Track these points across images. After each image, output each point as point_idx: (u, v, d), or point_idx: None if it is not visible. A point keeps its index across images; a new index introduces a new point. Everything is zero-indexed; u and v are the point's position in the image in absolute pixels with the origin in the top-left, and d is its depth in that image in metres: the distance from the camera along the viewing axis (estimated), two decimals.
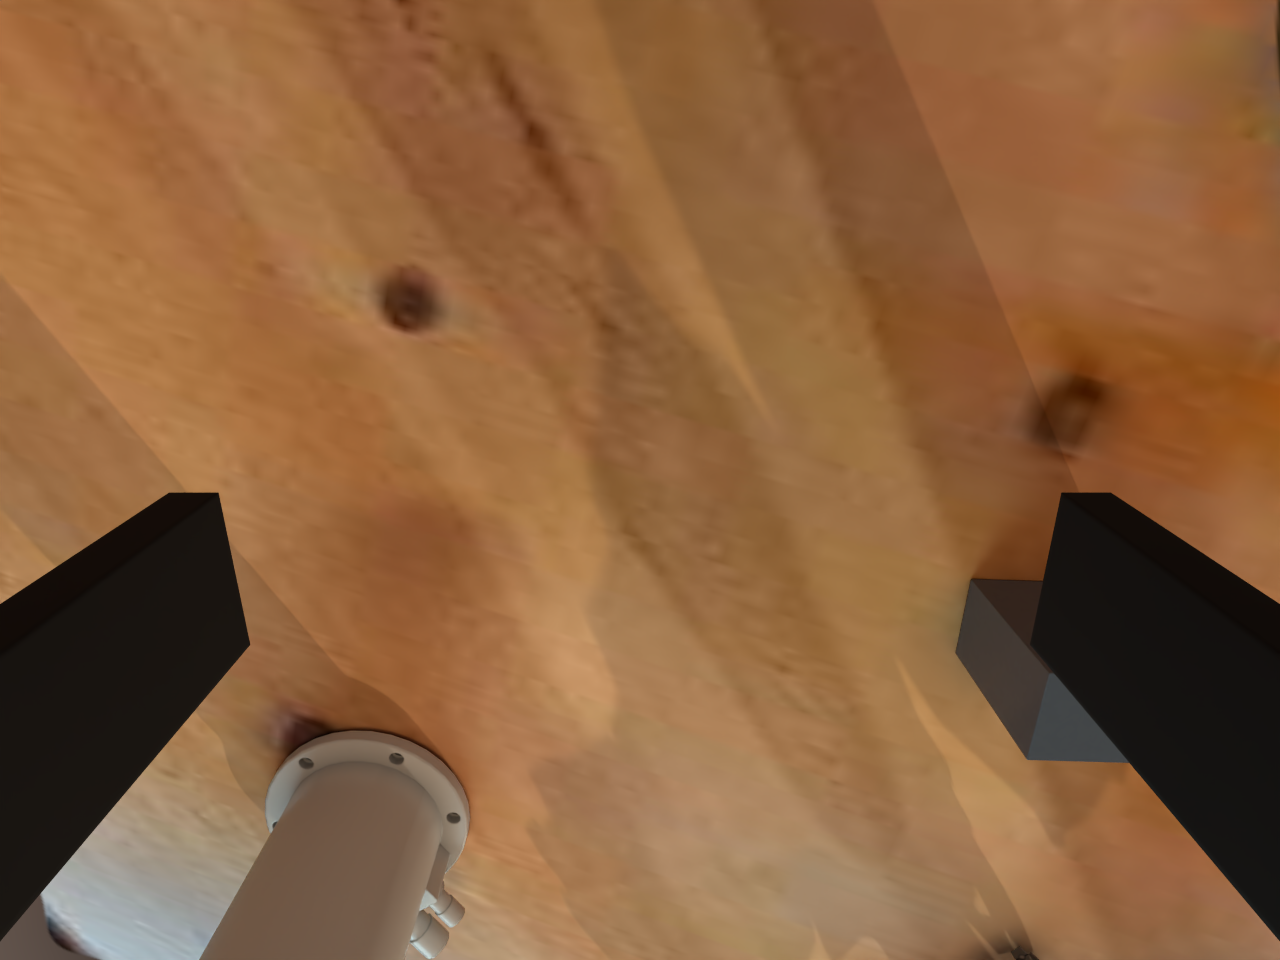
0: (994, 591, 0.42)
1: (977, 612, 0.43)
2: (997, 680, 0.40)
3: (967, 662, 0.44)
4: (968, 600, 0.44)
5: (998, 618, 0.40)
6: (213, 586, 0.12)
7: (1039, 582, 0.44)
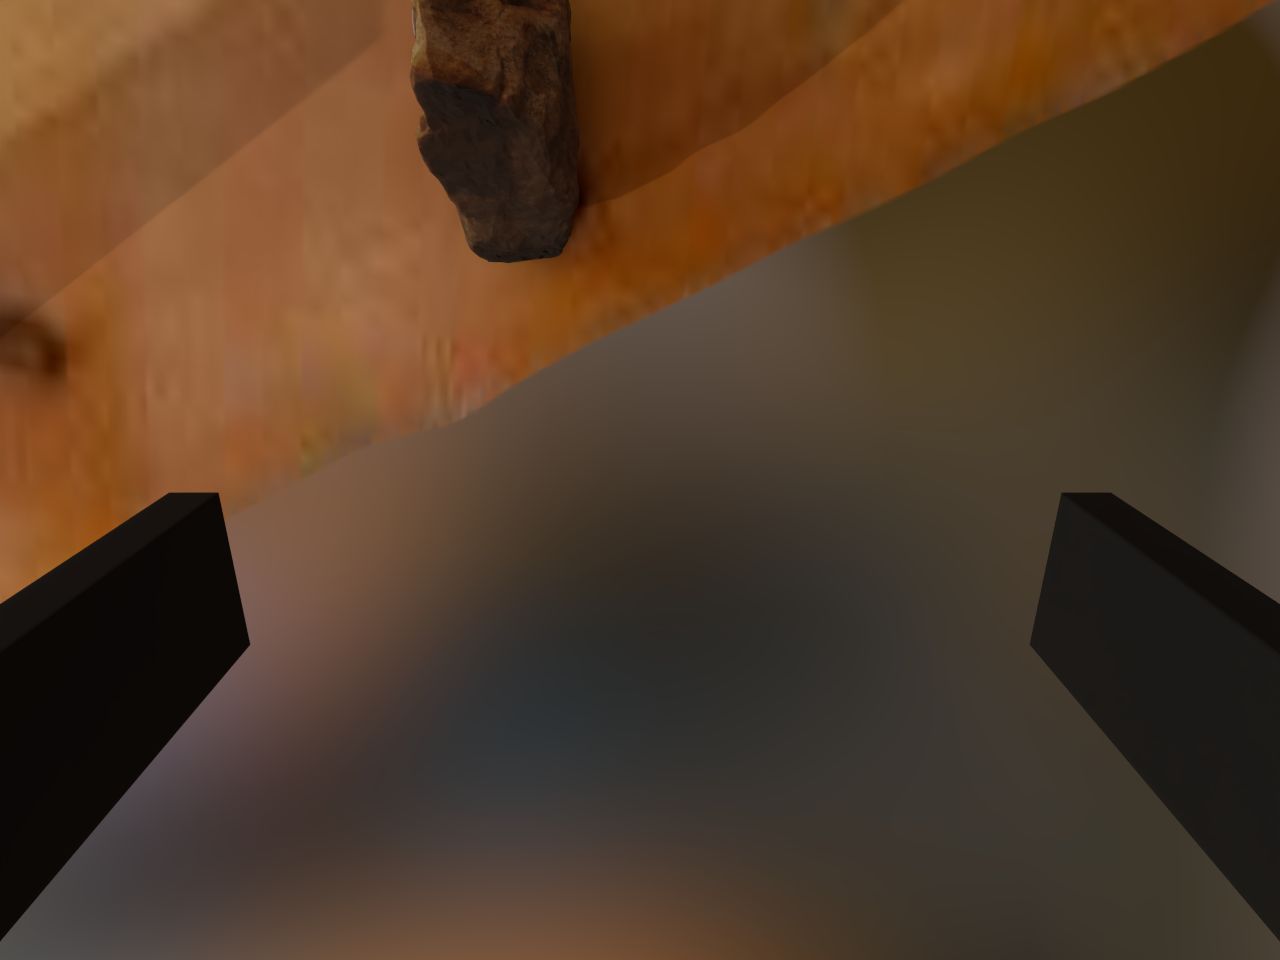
0: None
1: None
2: None
3: None
4: None
5: None
6: (213, 586, 0.12)
7: None
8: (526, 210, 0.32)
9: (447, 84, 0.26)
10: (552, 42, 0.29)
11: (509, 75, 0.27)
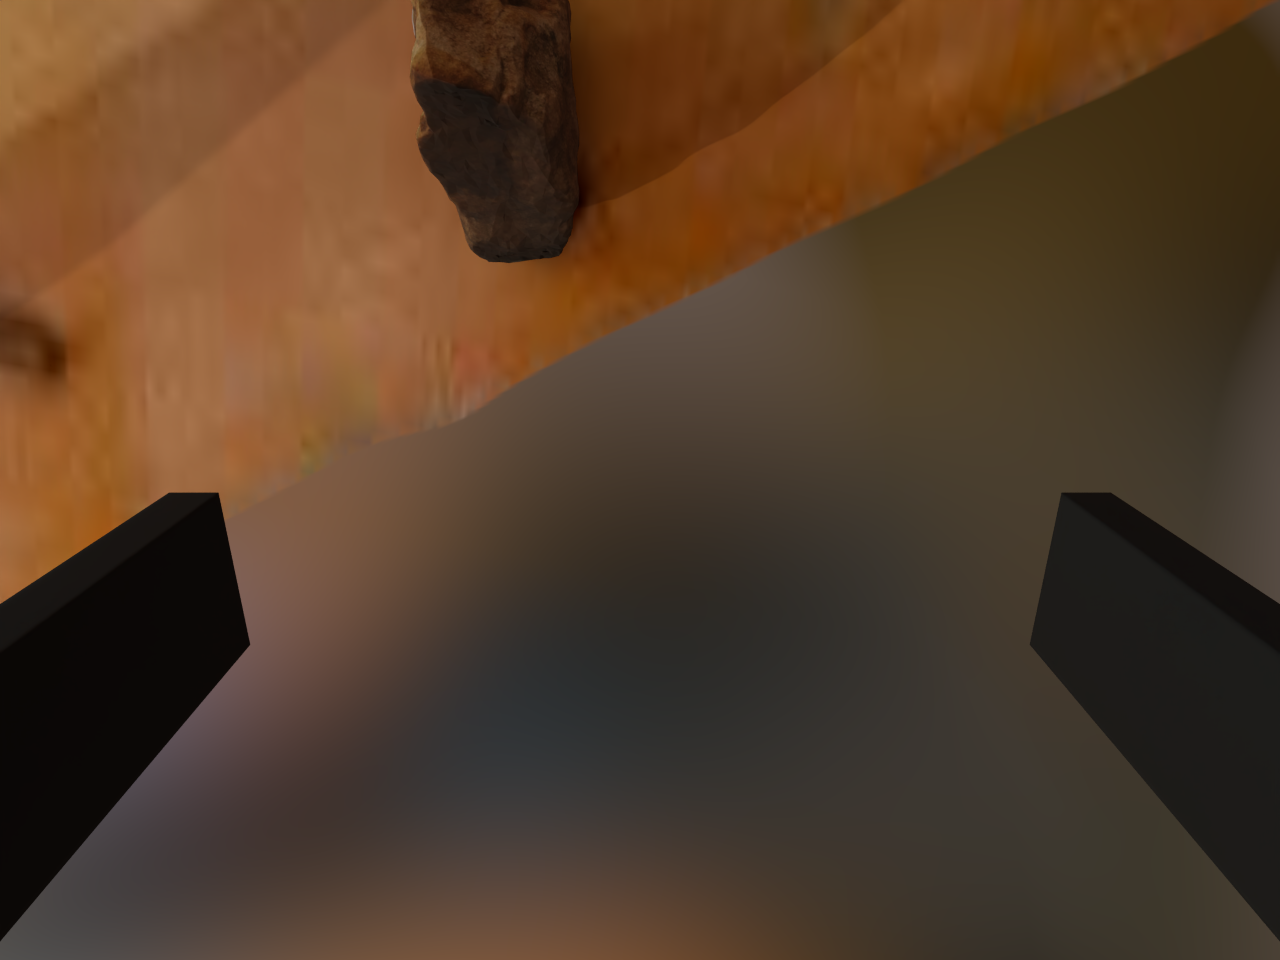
0: None
1: None
2: None
3: None
4: None
5: None
6: (213, 586, 0.12)
7: None
8: (526, 210, 0.32)
9: (447, 84, 0.26)
10: (552, 42, 0.29)
11: (509, 75, 0.27)
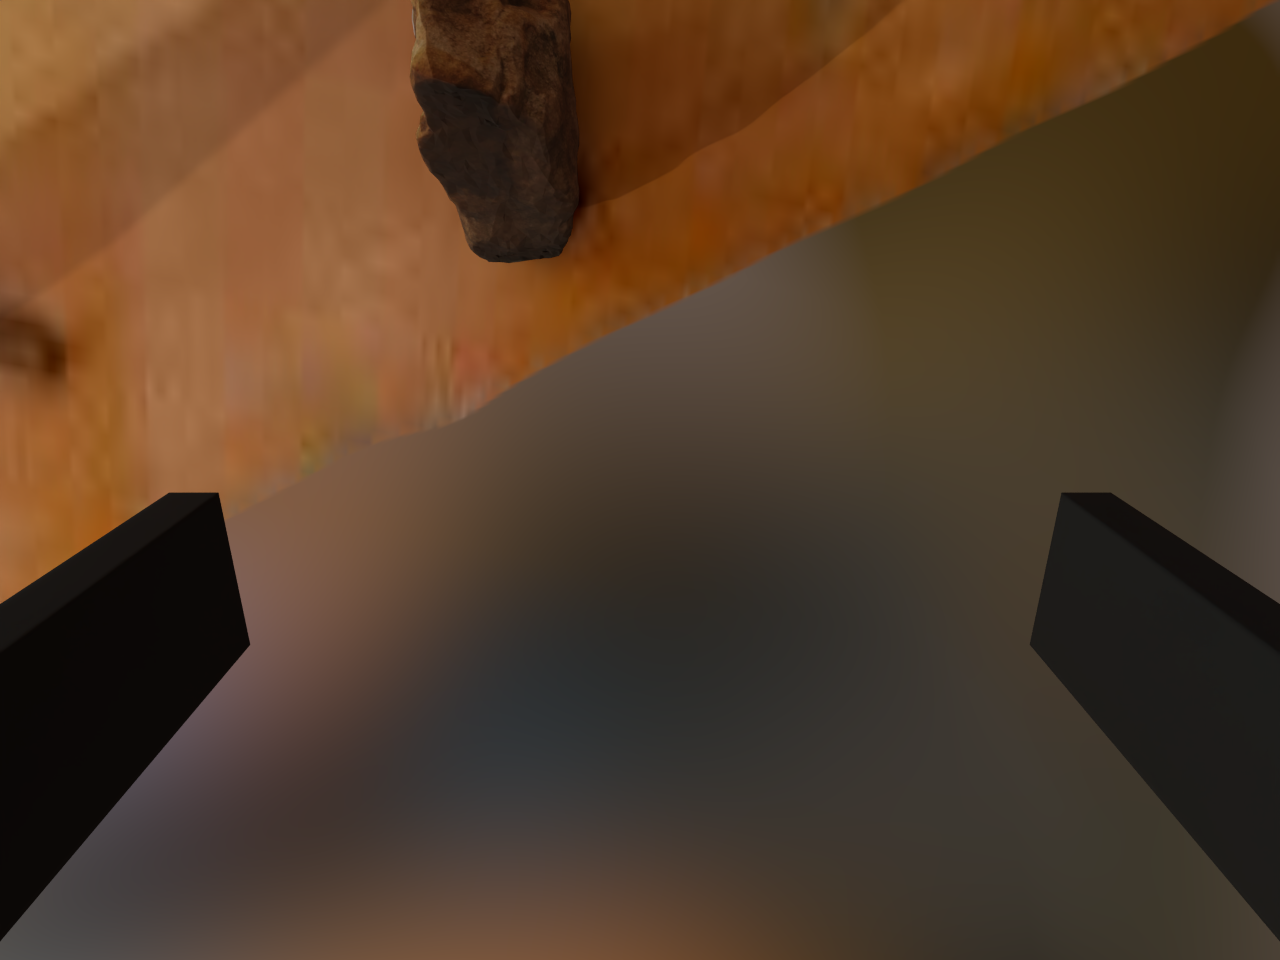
0: None
1: None
2: None
3: None
4: None
5: None
6: (213, 586, 0.12)
7: None
8: (526, 210, 0.32)
9: (447, 84, 0.26)
10: (552, 42, 0.29)
11: (509, 75, 0.27)
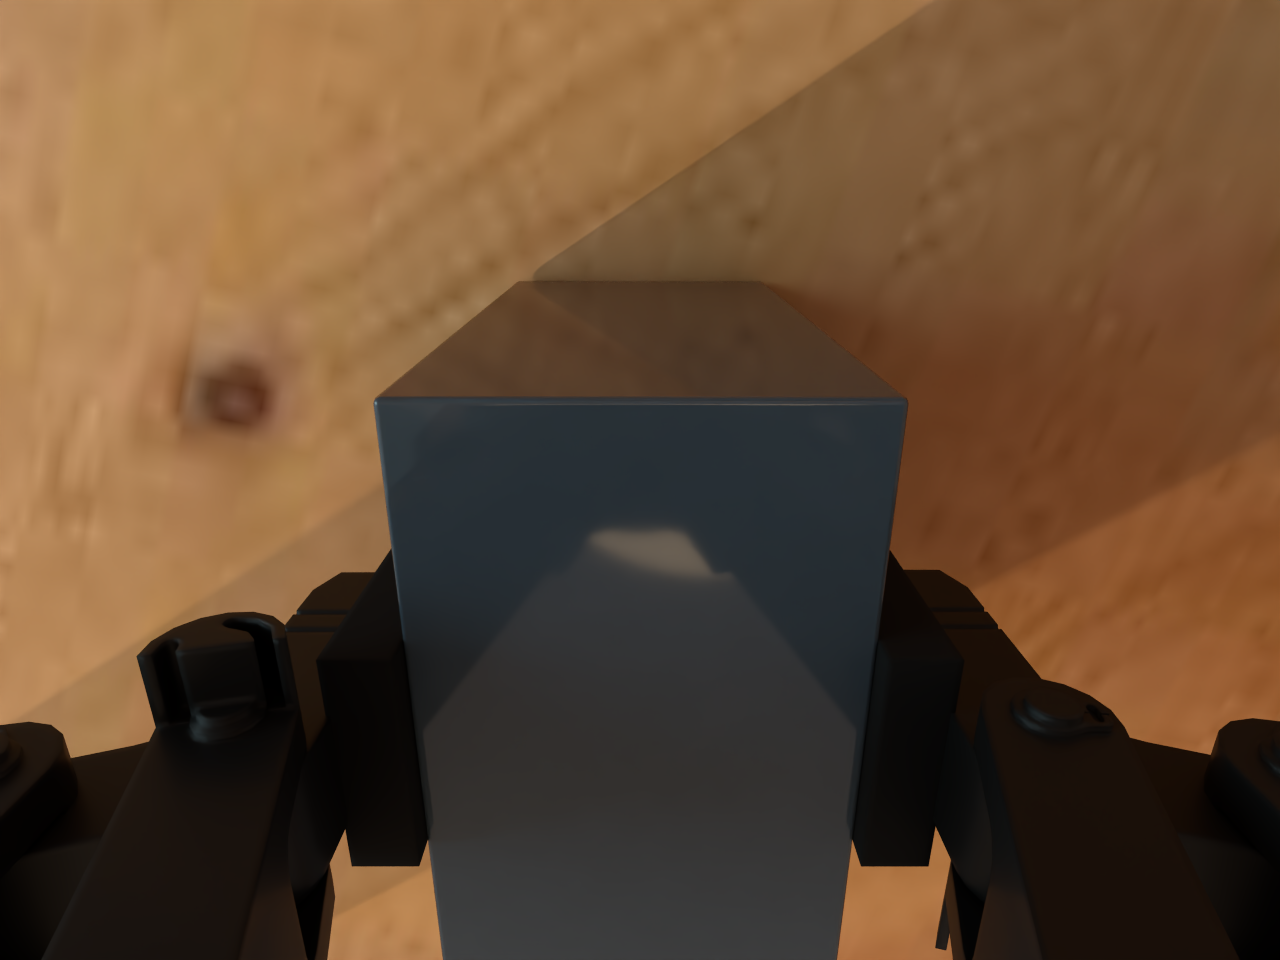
0: None
1: (705, 291, 0.14)
2: (585, 323, 0.11)
3: (527, 291, 0.14)
4: (701, 282, 0.15)
5: (780, 310, 0.12)
6: None
7: None
8: None
9: None
10: None
11: None
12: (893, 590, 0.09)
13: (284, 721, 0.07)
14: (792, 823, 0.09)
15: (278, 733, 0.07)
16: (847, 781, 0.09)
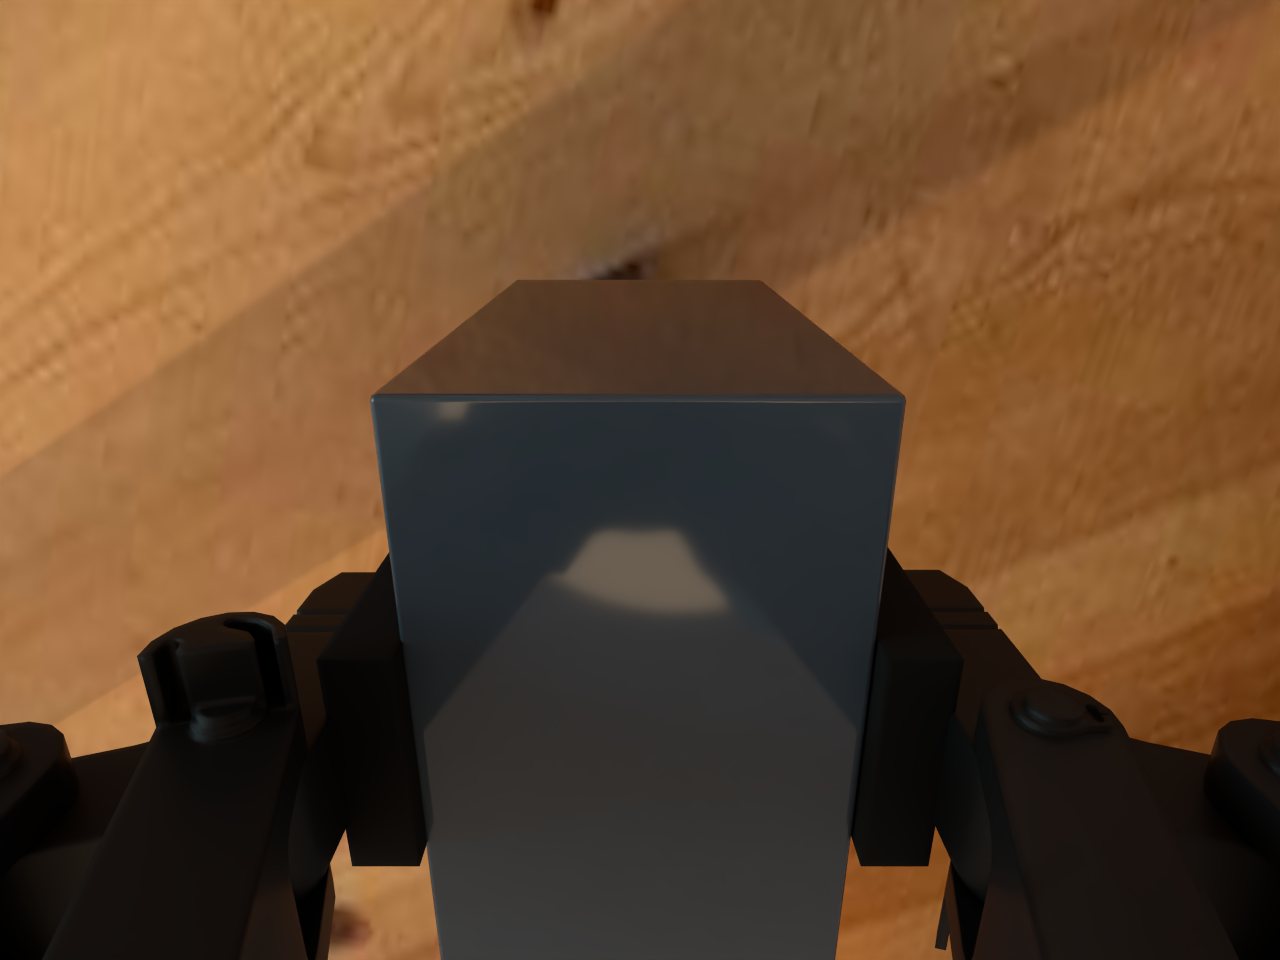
0: None
1: (704, 289, 0.14)
2: (584, 321, 0.11)
3: (526, 289, 0.14)
4: (700, 281, 0.15)
5: (779, 308, 0.12)
6: None
7: None
8: None
9: None
10: None
11: None
12: (893, 590, 0.09)
13: (284, 721, 0.07)
14: (789, 820, 0.09)
15: (278, 733, 0.07)
16: (845, 779, 0.09)
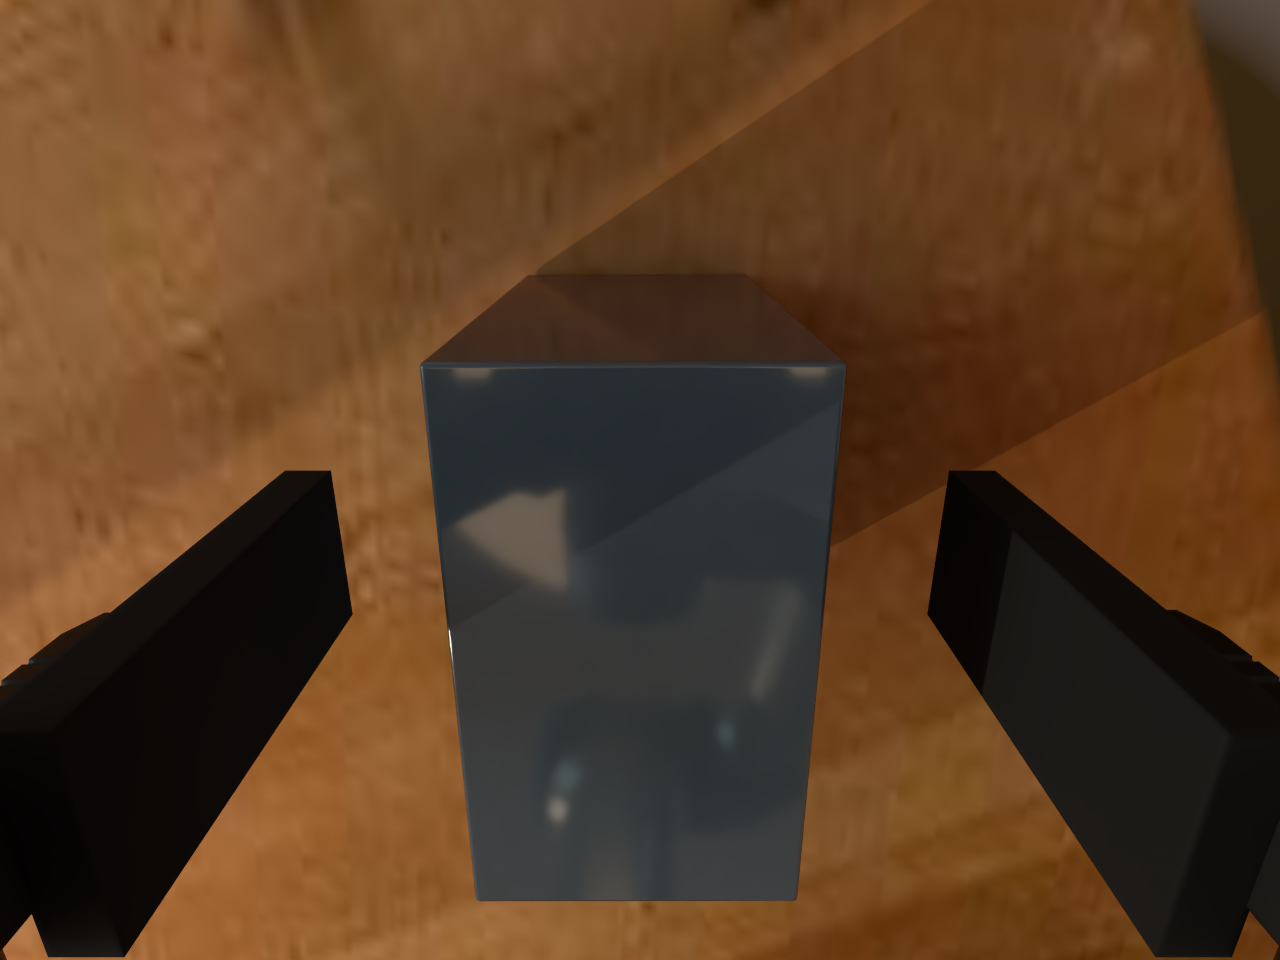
0: None
1: (694, 282, 0.16)
2: (589, 309, 0.13)
3: (537, 283, 0.16)
4: (692, 275, 0.17)
5: (758, 298, 0.14)
6: (327, 557, 0.13)
7: None
8: None
9: None
10: None
11: None
12: (1179, 642, 0.08)
13: None
14: (761, 721, 0.11)
15: None
16: (806, 684, 0.10)
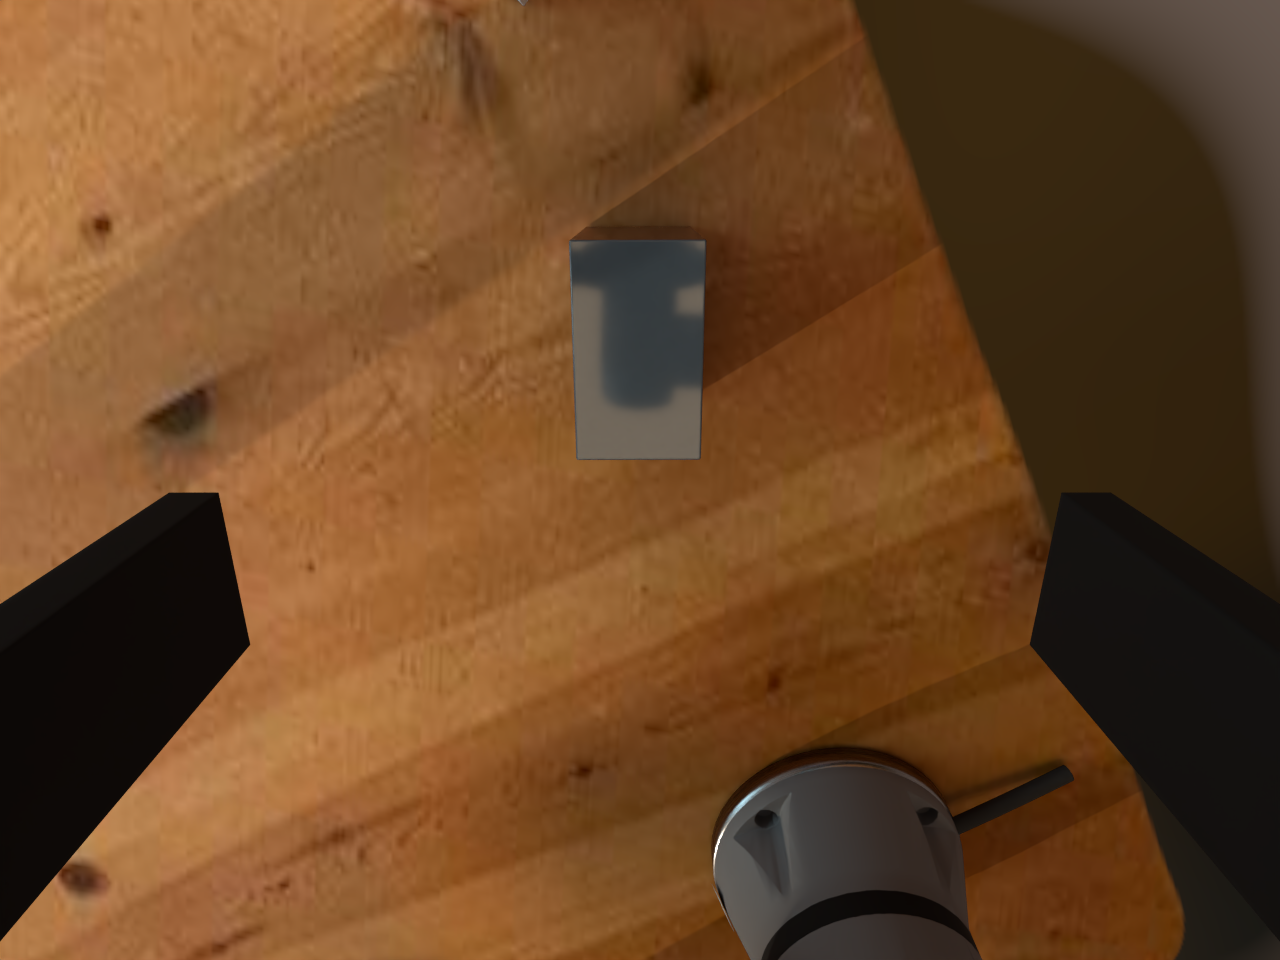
0: None
1: (664, 228, 0.35)
2: (619, 232, 0.32)
3: (592, 228, 0.35)
4: (664, 226, 0.36)
5: None
6: (213, 586, 0.12)
7: None
8: None
9: None
10: None
11: None
12: None
13: None
14: (683, 376, 0.30)
15: None
16: (699, 360, 0.29)
